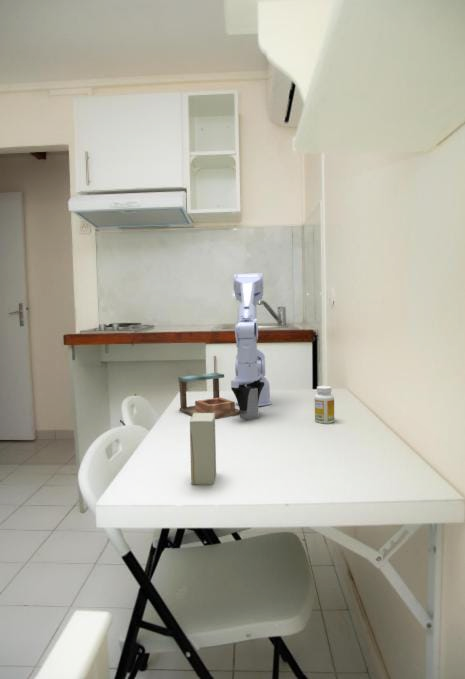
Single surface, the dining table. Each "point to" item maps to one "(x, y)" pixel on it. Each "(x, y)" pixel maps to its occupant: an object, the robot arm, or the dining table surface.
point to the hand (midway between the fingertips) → (248, 408)
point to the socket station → (209, 405)
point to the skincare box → (203, 448)
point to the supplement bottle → (324, 405)
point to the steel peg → (251, 405)
